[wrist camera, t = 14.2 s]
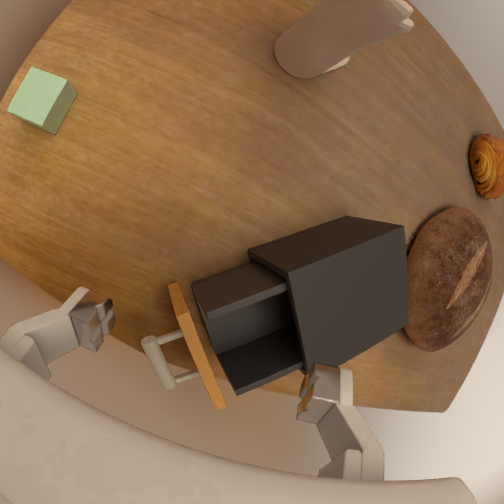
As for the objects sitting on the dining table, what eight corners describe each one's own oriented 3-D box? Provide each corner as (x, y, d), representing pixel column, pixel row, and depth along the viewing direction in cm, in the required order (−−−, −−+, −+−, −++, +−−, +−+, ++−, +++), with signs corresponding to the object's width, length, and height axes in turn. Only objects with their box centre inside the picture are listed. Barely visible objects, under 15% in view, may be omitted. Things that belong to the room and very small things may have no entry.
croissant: (458, 130, 49) (485, 126, 41) (493, 140, 52) (518, 138, 44) (462, 197, 52) (490, 200, 44) (497, 198, 54) (521, 201, 47)
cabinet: (270, 338, 39) (309, 381, 30) (247, 249, 36) (287, 272, 26) (358, 298, 43) (408, 323, 33) (347, 215, 40) (404, 225, 30)
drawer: (167, 377, 35) (177, 424, 26) (131, 297, 31) (128, 332, 23) (295, 327, 39) (332, 358, 31) (278, 246, 36) (317, 263, 28)
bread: (478, 271, 56) (511, 281, 47) (416, 363, 53) (449, 384, 44) (450, 179, 47) (493, 182, 38) (370, 285, 44) (417, 305, 35)
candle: (362, 61, 36) (470, 21, 18) (290, 85, 33) (409, 24, 15) (339, 21, 34) (438, -34, 15) (263, 39, 31) (361, -48, 13)
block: (55, 135, 26) (41, 126, 21) (23, 120, 24) (6, 111, 19) (77, 94, 26) (67, 79, 21) (44, 81, 24) (31, 66, 19)
